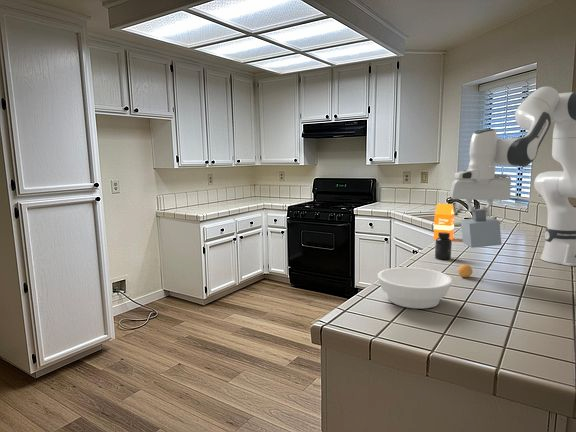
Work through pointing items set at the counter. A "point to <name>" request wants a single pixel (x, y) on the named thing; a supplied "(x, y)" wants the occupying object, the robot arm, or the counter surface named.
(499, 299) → the counter surface
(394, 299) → the bowl
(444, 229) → the orange juice
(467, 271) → the ball
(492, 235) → the grey block with knob
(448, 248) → the supplement bottle
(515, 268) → the counter surface
